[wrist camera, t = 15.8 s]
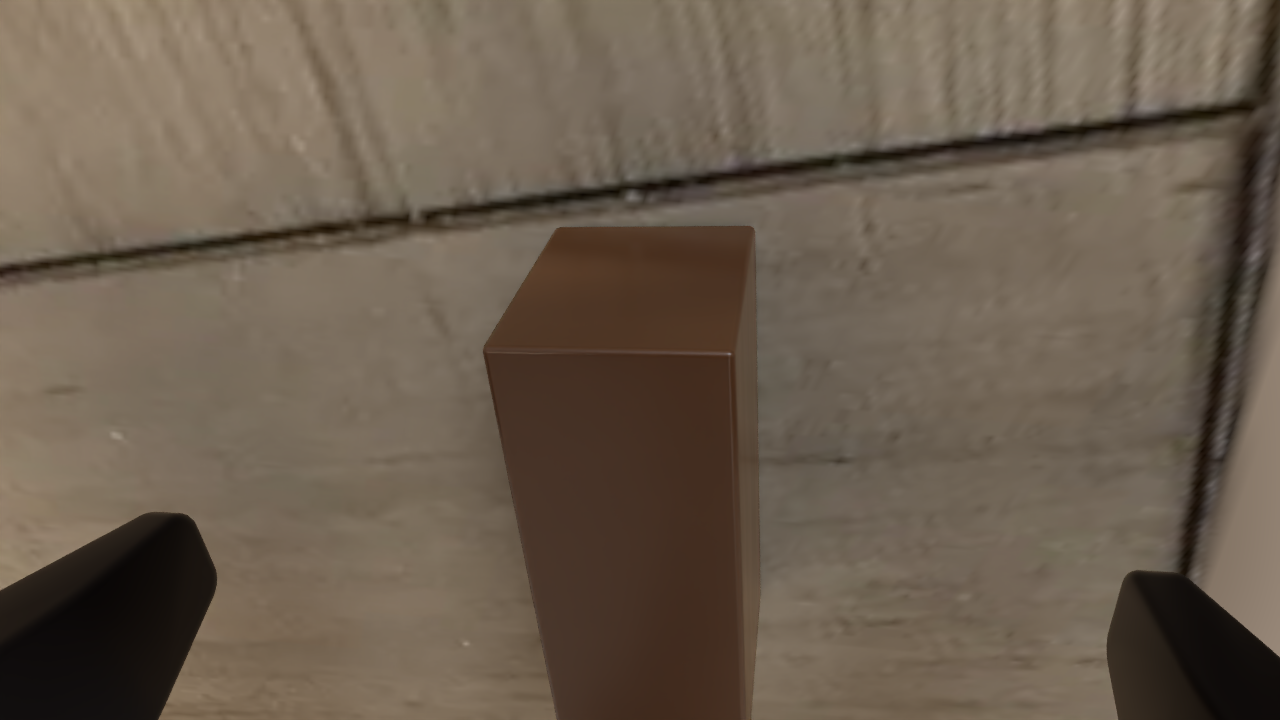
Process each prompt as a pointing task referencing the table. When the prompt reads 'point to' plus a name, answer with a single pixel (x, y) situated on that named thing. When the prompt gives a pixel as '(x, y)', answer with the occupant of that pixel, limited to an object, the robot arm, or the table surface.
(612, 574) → the tall brown square pillar
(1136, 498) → the table surface
